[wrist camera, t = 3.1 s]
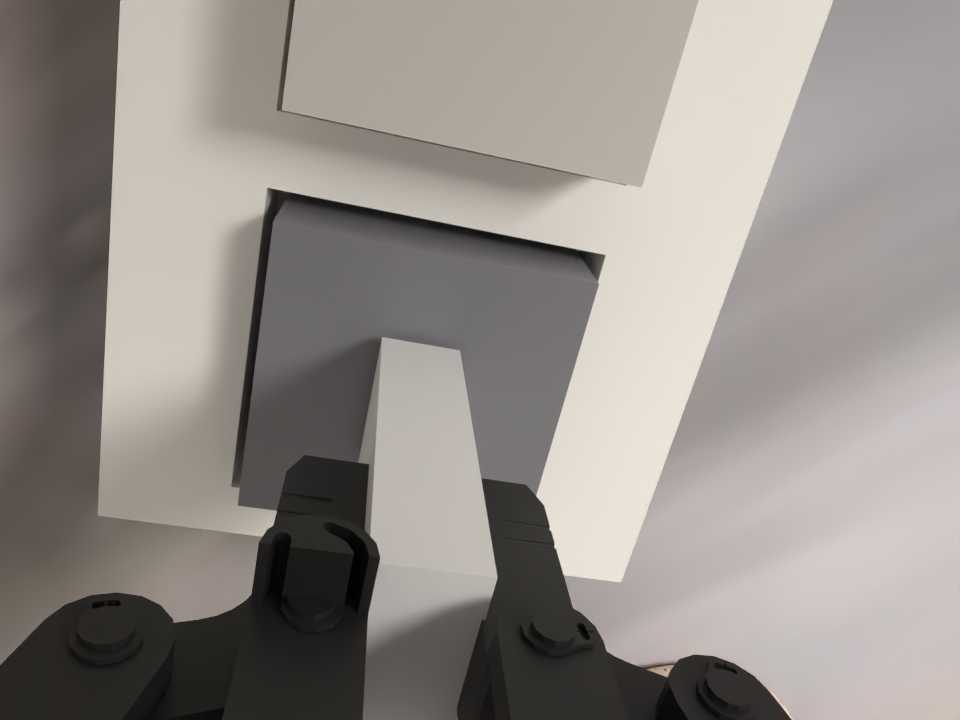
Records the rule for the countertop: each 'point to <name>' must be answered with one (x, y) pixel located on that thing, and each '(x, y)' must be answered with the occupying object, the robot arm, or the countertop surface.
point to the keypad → (428, 195)
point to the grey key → (496, 75)
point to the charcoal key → (408, 334)
